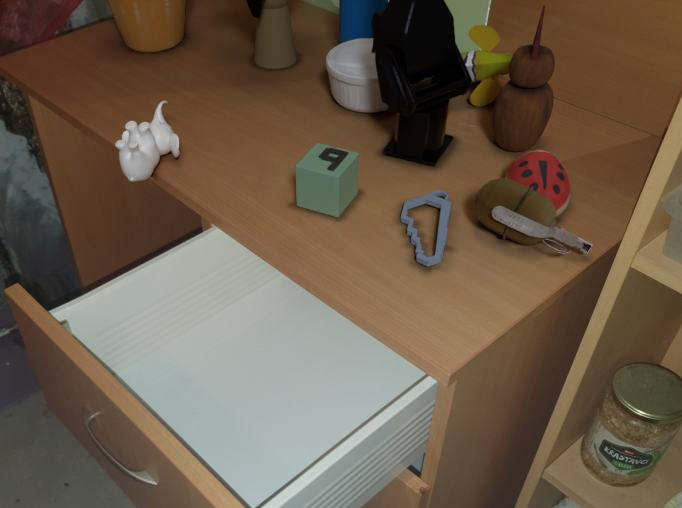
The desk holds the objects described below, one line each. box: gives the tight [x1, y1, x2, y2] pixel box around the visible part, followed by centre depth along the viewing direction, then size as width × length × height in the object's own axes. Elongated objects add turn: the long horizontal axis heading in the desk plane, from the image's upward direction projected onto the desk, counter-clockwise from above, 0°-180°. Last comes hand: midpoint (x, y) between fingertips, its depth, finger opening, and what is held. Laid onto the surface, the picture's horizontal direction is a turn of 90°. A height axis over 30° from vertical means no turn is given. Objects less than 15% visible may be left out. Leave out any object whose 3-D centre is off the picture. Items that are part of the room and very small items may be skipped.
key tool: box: [400, 190, 453, 267], centre depth 74 cm, size 12×1×5 cm
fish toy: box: [428, 24, 513, 107], centre depth 92 cm, size 15×10×12 cm
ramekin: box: [325, 38, 388, 114], centre depth 92 cm, size 11×11×5 cm
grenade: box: [474, 177, 593, 256], centre depth 71 cm, size 6×6×12 cm
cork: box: [253, 0, 298, 70], centre depth 99 cm, size 6×6×11 cm
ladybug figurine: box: [504, 149, 571, 218], centre depth 76 cm, size 7×10×4 cm
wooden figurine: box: [491, 5, 556, 153], centre depth 79 cm, size 7×6×15 cm
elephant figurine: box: [114, 100, 181, 183], centre depth 83 cm, size 7×12×6 cm, turn 161°
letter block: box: [294, 142, 360, 218], centre depth 77 cm, size 5×5×5 cm
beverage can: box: [338, 0, 389, 45], centre depth 98 cm, size 6×6×12 cm
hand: (273, 5), depth 98 cm, fingers open, 9 cm apart
